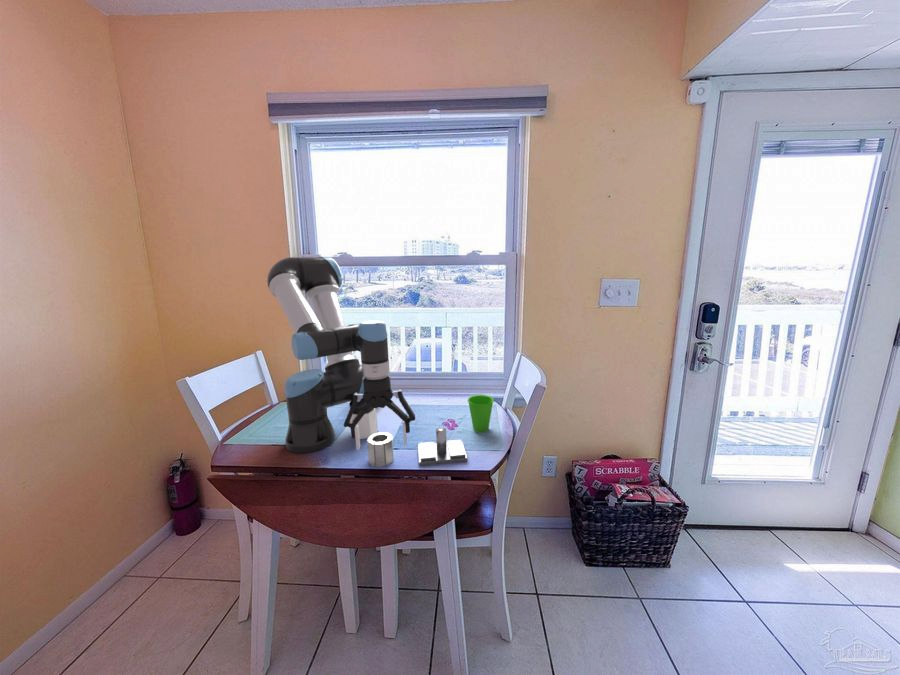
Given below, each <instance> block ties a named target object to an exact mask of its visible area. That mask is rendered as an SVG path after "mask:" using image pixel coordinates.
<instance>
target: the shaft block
mask: <svg viewBox="0 0 900 675" xmlns="http://www.w3.org/2000/svg"><path fill="white" fill-rule="evenodd" d="M435 429H436V430H435V434H436V435H435V436H436V437H435V438H436V441H435V442H434V441H427V442H419V443H418V444H417V452H418V466H419V467H423V466H424V467H425V466H432V465H433V466H434V465H445V464H456V463H465V462H467V463H468V455H467V452H466V449H465V447H464V446H465V445H464V442H463V440H462V439H451V440H447V428H446V427H444V426H440V427H437V428H435Z"/></svg>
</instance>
